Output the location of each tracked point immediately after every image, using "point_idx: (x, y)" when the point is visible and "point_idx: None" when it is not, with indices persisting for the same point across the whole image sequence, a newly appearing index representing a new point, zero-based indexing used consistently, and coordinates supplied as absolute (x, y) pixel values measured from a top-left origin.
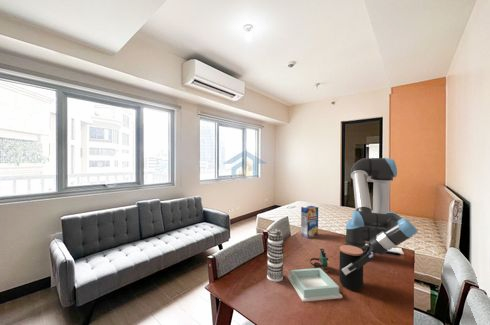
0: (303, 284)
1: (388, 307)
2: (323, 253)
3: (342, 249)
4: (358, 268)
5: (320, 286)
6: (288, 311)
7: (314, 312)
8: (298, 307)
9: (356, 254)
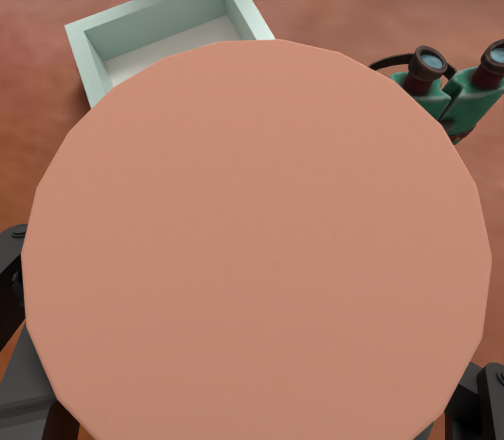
0: (109, 21)
1: (87, 435)
2: (415, 54)
3: (190, 64)
4: (15, 277)
5: (102, 88)
6: (27, 23)
7: (27, 97)
8: (49, 49)
9: (28, 270)
